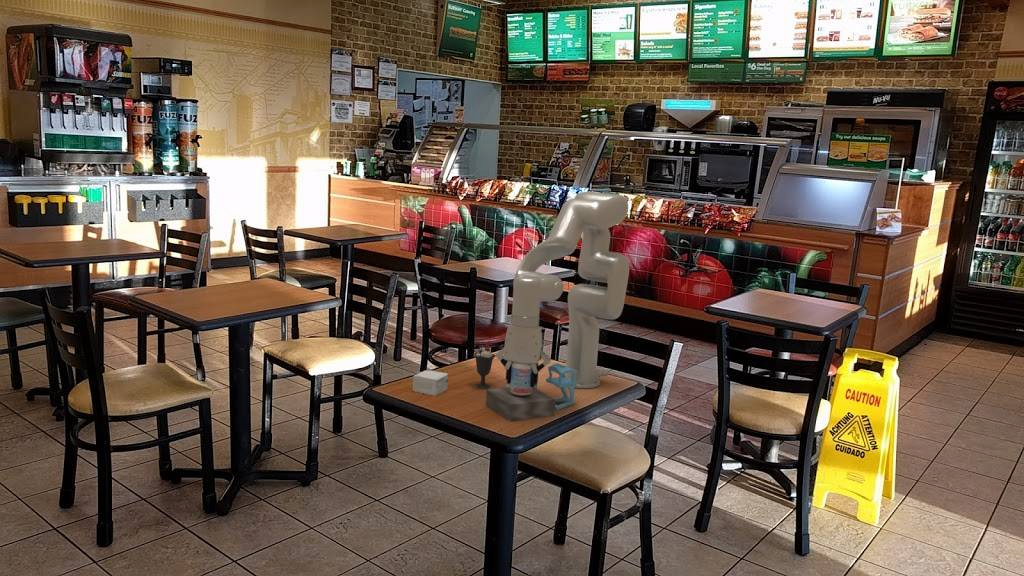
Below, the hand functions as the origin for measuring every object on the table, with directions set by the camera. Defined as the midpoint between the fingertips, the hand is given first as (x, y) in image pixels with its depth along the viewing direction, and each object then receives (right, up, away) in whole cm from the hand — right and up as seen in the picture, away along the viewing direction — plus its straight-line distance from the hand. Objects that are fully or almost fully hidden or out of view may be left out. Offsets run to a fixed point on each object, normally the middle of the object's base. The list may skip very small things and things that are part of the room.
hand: (521, 383), depth 217 cm
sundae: (-12, -4, +21) cm, 24 cm away
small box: (-27, -4, +15) cm, 31 cm away
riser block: (-1, -8, +1) cm, 8 cm away
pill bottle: (0, -3, 0) cm, 3 cm away
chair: (+11, -7, +9) cm, 16 cm away
